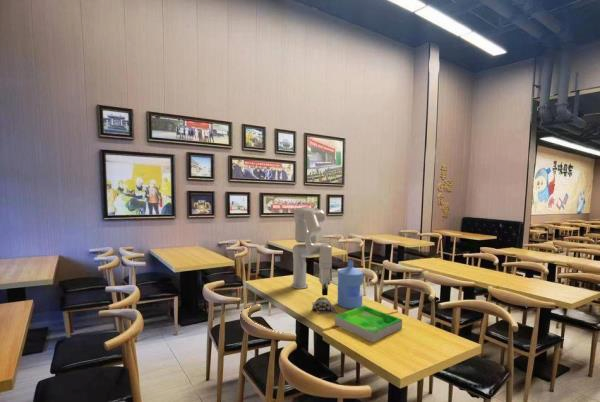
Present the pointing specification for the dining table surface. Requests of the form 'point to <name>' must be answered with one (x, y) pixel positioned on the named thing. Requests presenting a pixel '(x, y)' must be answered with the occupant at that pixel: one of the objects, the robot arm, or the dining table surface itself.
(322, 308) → the food container
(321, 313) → the mat
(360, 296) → the water jug
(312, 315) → the dining table surface
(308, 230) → the robot arm
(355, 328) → the tray
